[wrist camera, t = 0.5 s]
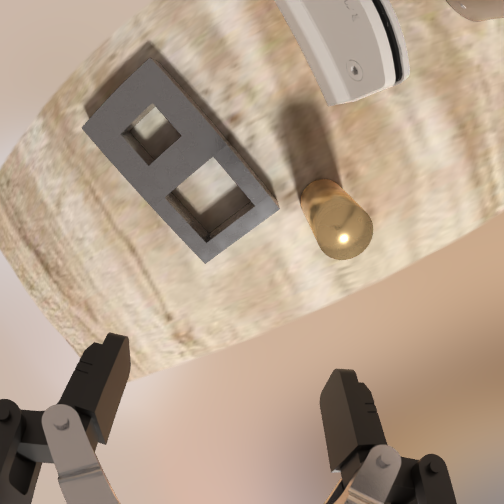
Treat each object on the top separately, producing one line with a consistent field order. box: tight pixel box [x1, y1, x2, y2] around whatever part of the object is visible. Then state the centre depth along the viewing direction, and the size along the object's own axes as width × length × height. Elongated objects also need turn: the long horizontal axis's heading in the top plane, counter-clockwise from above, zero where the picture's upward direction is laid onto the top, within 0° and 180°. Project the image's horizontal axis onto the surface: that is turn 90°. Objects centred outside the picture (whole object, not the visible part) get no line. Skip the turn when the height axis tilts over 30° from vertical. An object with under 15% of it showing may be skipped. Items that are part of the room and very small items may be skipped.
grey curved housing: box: [274, 0, 410, 106], centre depth 22 cm, size 17×5×10 cm, turn 25°
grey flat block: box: [82, 58, 280, 264], centre depth 31 cm, size 10×20×2 cm, turn 38°
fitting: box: [301, 179, 373, 260], centre depth 30 cm, size 5×5×9 cm
